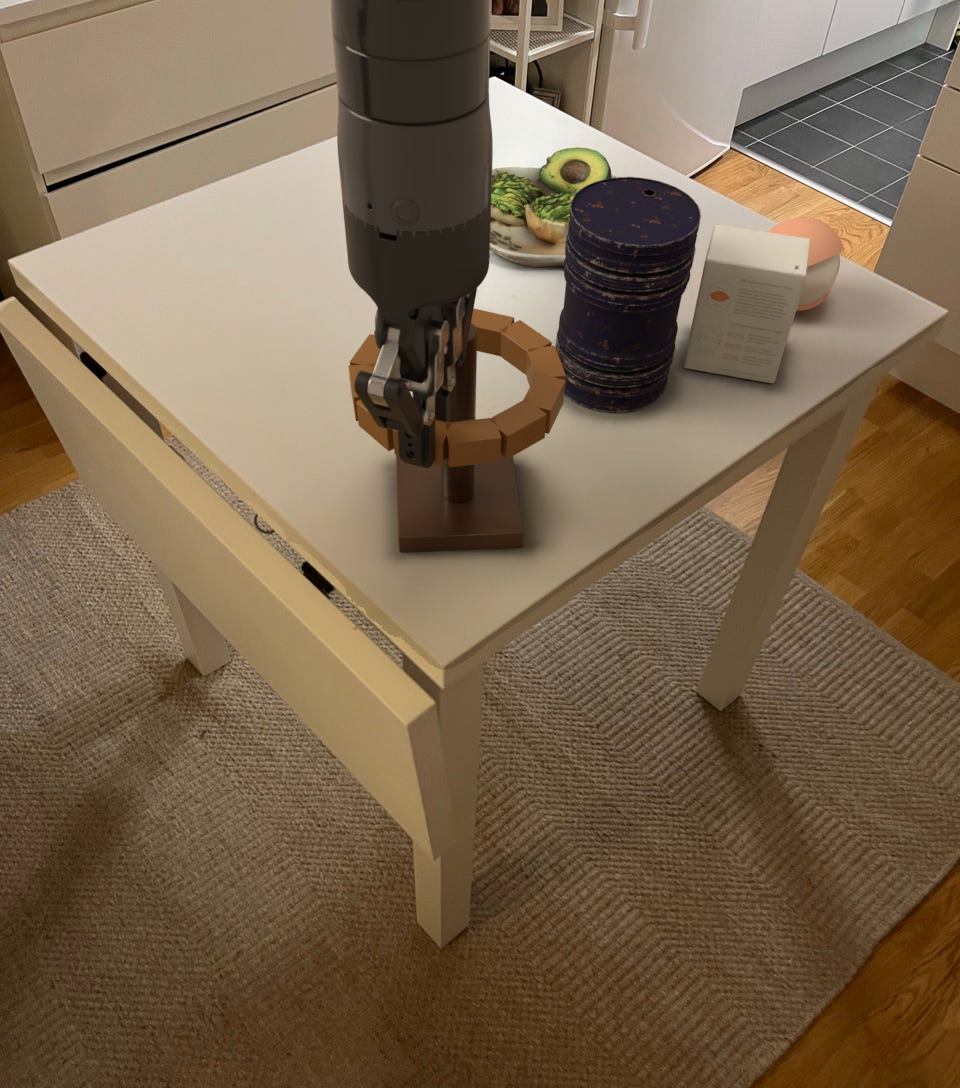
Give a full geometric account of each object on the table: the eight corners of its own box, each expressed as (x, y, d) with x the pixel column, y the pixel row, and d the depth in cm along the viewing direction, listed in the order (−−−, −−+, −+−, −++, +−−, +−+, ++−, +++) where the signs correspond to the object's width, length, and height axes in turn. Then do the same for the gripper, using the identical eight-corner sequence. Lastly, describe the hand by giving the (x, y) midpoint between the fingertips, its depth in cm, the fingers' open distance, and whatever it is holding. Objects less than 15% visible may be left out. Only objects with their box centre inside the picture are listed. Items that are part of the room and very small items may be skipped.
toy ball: (783, 338, 89) (808, 257, 83) (725, 295, 93) (744, 215, 87) (846, 310, 92) (875, 230, 86) (787, 270, 96) (810, 190, 89)
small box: (780, 348, 88) (814, 237, 80) (774, 386, 85) (809, 275, 76) (690, 331, 89) (714, 221, 81) (680, 369, 86) (705, 257, 78)
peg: (399, 552, 72) (388, 377, 60) (396, 467, 78) (386, 291, 65) (522, 547, 73) (536, 373, 60) (511, 463, 78) (522, 287, 66)
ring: (364, 477, 62) (362, 452, 60) (343, 342, 70) (340, 318, 69) (582, 452, 64) (585, 428, 62) (536, 324, 72) (538, 299, 70)
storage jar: (643, 428, 81) (675, 260, 69) (534, 391, 84) (547, 224, 72) (684, 361, 87) (720, 196, 75) (580, 329, 89) (599, 164, 77)
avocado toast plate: (661, 285, 94) (669, 240, 90) (472, 287, 93) (472, 241, 89) (632, 181, 105) (638, 137, 102) (464, 181, 105) (464, 137, 101)
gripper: (400, 112, 54) (411, 373, 68) (286, 239, 46) (324, 506, 60) (530, 137, 53) (515, 398, 67) (436, 273, 45) (440, 538, 59)
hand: (424, 448), depth 63 cm, fingers closed on ring, 2 cm apart
